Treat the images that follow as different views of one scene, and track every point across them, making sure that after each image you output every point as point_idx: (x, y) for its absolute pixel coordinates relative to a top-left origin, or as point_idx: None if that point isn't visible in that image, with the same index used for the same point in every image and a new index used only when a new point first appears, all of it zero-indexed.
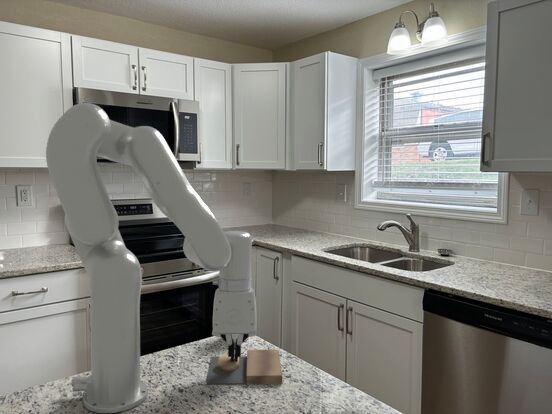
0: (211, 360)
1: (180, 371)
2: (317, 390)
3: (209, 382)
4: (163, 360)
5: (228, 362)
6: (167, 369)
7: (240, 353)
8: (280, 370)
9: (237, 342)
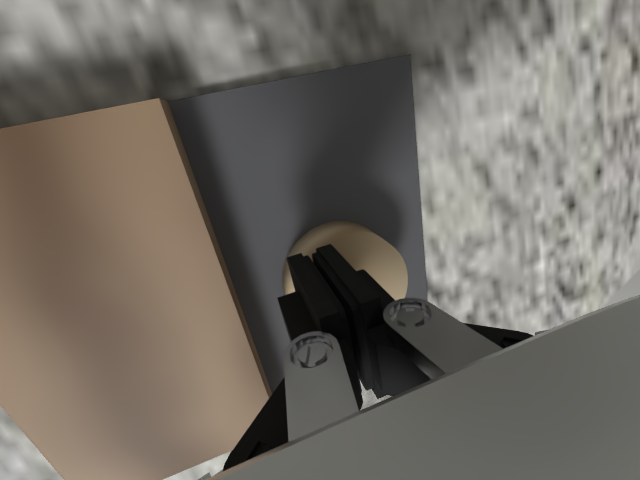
0: None
1: (530, 178)
2: None
3: (394, 70)
4: (590, 252)
5: (343, 251)
6: (576, 183)
7: (282, 306)
8: None
9: (333, 346)
